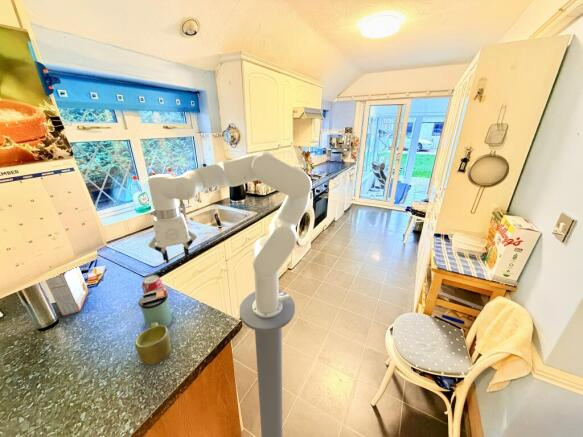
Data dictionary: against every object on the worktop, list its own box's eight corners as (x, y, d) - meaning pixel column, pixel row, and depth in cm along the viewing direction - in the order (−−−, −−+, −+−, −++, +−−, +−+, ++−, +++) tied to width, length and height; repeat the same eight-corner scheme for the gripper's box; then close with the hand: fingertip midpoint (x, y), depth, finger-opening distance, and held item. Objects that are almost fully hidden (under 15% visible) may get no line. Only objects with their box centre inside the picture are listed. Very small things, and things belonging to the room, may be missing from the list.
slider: (166, 290, 88) (165, 285, 88) (167, 296, 86) (165, 290, 85) (156, 293, 87) (155, 288, 86) (156, 298, 84) (155, 293, 83)
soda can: (144, 303, 99) (137, 280, 94) (160, 294, 104) (155, 271, 100) (152, 310, 95) (146, 286, 91) (169, 301, 101) (164, 277, 96)
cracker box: (72, 295, 103) (55, 254, 96) (89, 291, 106) (74, 250, 98) (60, 317, 92) (40, 271, 84) (80, 312, 94) (61, 267, 87)
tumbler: (172, 310, 95) (166, 285, 91) (173, 326, 88) (167, 299, 83) (146, 318, 91) (138, 292, 87) (145, 336, 84) (137, 308, 79)
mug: (172, 361, 73) (157, 335, 71) (140, 376, 72) (123, 350, 69) (183, 335, 85) (170, 312, 82) (155, 347, 84) (141, 325, 81)
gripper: (137, 220, 71) (149, 270, 78) (196, 211, 79) (203, 258, 85) (138, 212, 77) (150, 260, 84) (193, 205, 85) (200, 249, 92)
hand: (177, 258), depth 85 cm, fingers open, 5 cm apart
